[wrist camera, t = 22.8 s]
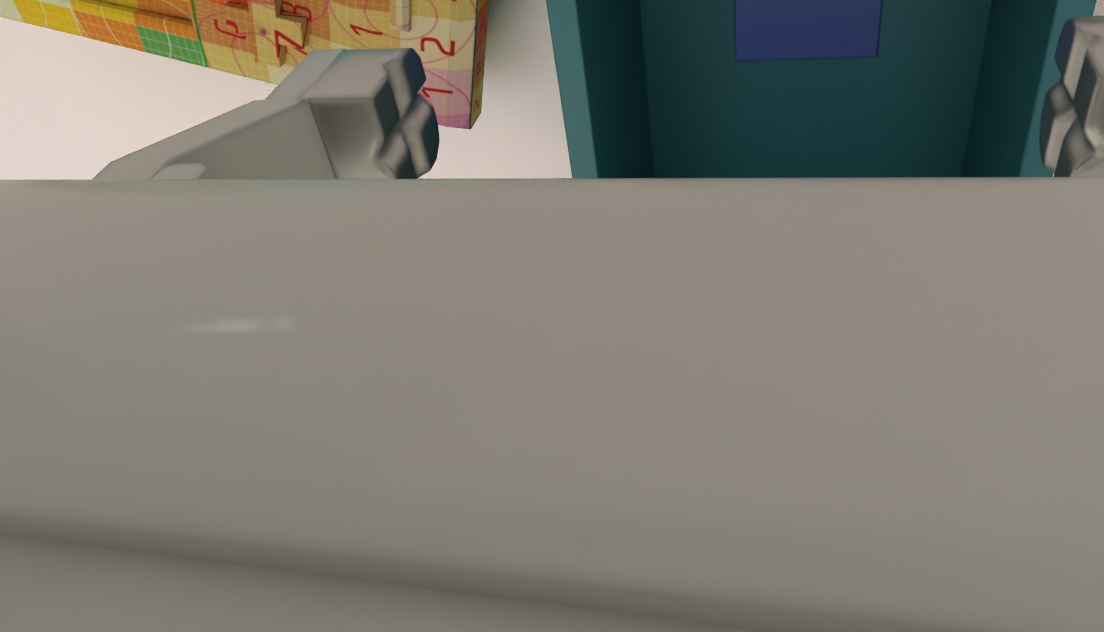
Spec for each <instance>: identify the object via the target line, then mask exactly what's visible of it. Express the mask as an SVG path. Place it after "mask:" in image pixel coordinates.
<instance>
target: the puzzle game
mask: <svg viewBox="0 0 1104 632" xmlns="http://www.w3.org/2000/svg"><path fill="white" fill-rule="evenodd" d="M488 4H489V0H0V17H3V18H8V19H12V20H16V21H20V22H24V23H29V24H33V25H37V26H41V27H45V28H49V29H54V30H58V31H62V32H66V33H70V34H75V35H79V36H83V37H87V38H91V39H95V40H99V41H103V42H107V43H111V44H115V45H119V46H123V47H127V48H131V49H135V50H139V51H143V52H147V53H151V54H155V55H160V56H164V57H168V58H172V59H176V60H180V61H184V62H188V63H192V64H196V65H200V66H204V67H208V68H212V69H216V70H220V71H224V72H228V73H232V74H236V75H240V76H244V77H248V78H252V79H256V80H260V81H264V82H268V83H272V84H276V85H279V84H280V83H281V82H282V81H283V80H284V79H285V78H286V77H287V76H288V75H289V74H290V73H291V72H292V70H293V69H294V68H295V67H296V66H297V65H298V64H299V63H300V62H301V61H302V60H303V59H304V58H305V57H306V56H307V55H308V54H309V52H310V51H314V50H328V49H343V48H346V49H348V50H350V49H389V48H413V49H414V50H415V51H416V52H417V54H418V55H419V56H420V58H421V61H422V65H423V68H424V72H425V75H426V82H425V84H424V86H423V89H422V91H421V93H420V94H421V95H422V96H423V97H424V98H425V99H426V100H427V101H428V102H429V103H430V104H431V105H432V106H433V107H434V110H435V114H436V118H437V122H438V125H442V126H446V127H455V128H464V129H471V128H472V126H473V125H474V123H475V121H476V120H477V118H478V117H479V115H480V113H481V104H482V90H483V75H484V61H485V47H486V32H487V18H488Z"/></svg>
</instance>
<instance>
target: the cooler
mask: <svg viewBox="0 0 1104 632" xmlns="http://www.w3.org/2000/svg"><path fill="white" fill-rule="evenodd" d="M546 3H547V10H548V16H549V23H550V30H551V37H552V43H553V50H554V57H555V64H556V70H557V77H558V84H559V91H560V97H561V104H562V111H563V118H564V124H565V131H566V138H567V145H568V151H569V158H570V165H571V171H572V178H885V177H1053V172H1051V171H1049V170H1048V169H1046V168H1044V166H1043V162H1042V159H1041V156H1040V146H1039V132H1040V119H1041V114H1042V109H1043V104H1044V99H1045V94H1046V92H1047V91H1048V90H1049V89H1050V88H1051V87H1052V86H1053V85H1054V84H1055V83H1057V82H1058V81H1059V80H1060V79H1061V78H1062V77H1061V74H1060V72H1059V69H1058V67H1057V64H1056V62H1055V59H1054V56H1055V52H1056V48H1057V43H1058V39H1059V36H1060V33H1061V31H1062V28H1063V26H1064V23H1065V22H1066V21H1068V20H1069V19H1071V18H1074V17H1089V16H1093V12H1094V8H1095V4H1096V0H883V9H882V20H881V30H880V41H879V51H878V55H877V57H875V58H841V59H803V60H766V61H736V60H735V44H734V0H546Z"/></svg>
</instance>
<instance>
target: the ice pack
mask: <svg viewBox="0 0 1104 632" xmlns="http://www.w3.org/2000/svg"><path fill="white" fill-rule="evenodd" d="M882 9H883V0H734V44H735V60H736V61H766V60H803V59H841V58H875V57H877V55H878V51H879V41H880V30H881V20H882Z"/></svg>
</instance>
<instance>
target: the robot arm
mask: <svg viewBox="0 0 1104 632" xmlns="http://www.w3.org/2000/svg"><path fill="white" fill-rule="evenodd" d="M1054 59H1055V62H1056V64H1057V67H1058V69H1059V72H1060V74H1061V77H1062V78H1061V79H1060V80H1059V81H1058V82H1057V83H1055V84H1054V85H1053V86H1052V87H1051V88H1050V89H1049V90H1048V91H1047V92H1046V94H1045V99H1044V104H1043V109H1042V114H1041V119H1040V132H1039V146H1040V156H1041V159H1042V162H1043V166H1044V168H1046V169H1048V170H1049V171H1051V172H1053V173H1054V177H885V178H546V179H417V178H418V177H420V176H422V175H424V174H425V173H427V172H429V171H430V170H431V168H432V166H433V165H434V163H435V161H436V159H437V153H438V146H439V131H438V122H437V118H436V114H435V110H434V107H433V106H432V105H431V104H430V103H429V102H428V101H427V100H426V99H425V98H424V97H423V96H422V95H421V94H420V93H421V91H422V89H423V86H424V84H425V82H426V75H425V72H424V68H423V65H422V61H421V58H420V56H419V55H418V54H417V52H416V51H415V50H414V49H413V48H389V49H350V50H348V49H346V48H343V49H328V50H314V51H310V52H309V54H308V55H307V56H306V57H305V58H304V59H303V60H302V61H301V62H300V63H299V64H298V65H297V66H296V67H295V68H294V69H293V70H292V72H291V73H290V74H289V75H288V76H287V77H286V78H285V79H284V80H283V81H282V82H281V83H280V84H279V85H278V86H277V87H276V88H275V89H274V91H273V92H272V93H271V94H270V95H269V96H268V97H267V98H266V99H265V100H257V101H253V102H250V103H248V104H246V105H243V106H241V107H239V108H236V109H234V110H232V111H229V112H227V113H225V114H222V115H220V116H217V117H215V118H213V119H210V120H208V121H206V122H203V123H201V124H199V125H196V126H194V127H192V128H189V129H187V130H185V131H182V132H180V133H178V134H175V135H173V136H171V137H168V138H166V139H164V140H161V141H159V142H157V143H154V144H152V145H149V146H147V147H145V148H142V149H140V150H138V151H135V152H133V153H131V154H128V155H126V156H124V157H121V158H119V159H117V160H114V161H112V162H110V163H109V164H108V165H107V166H106V167H105V168H104V169H103V170H102V171H100V172H99V173H98V174H97V175H96V176H95V177H94V178H93V179H92V180H0V632H1104V16H1089V17H1074V18H1071V19H1069V20H1068V21H1066V22H1065V23H1064V26H1063V28H1062V31H1061V33H1060V36H1059V39H1058V43H1057V48H1056V52H1055V56H1054Z"/></svg>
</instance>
